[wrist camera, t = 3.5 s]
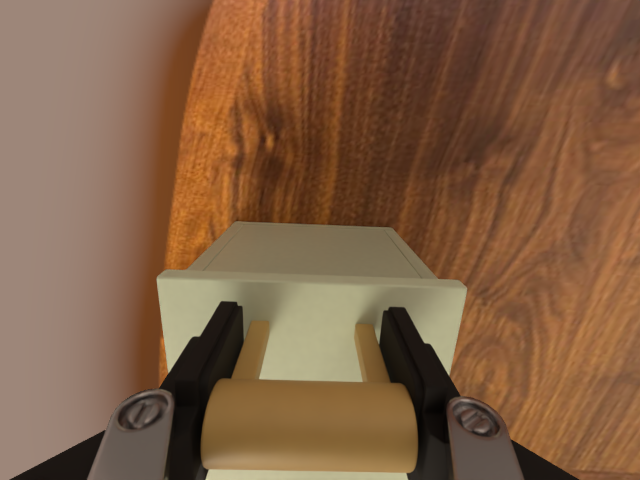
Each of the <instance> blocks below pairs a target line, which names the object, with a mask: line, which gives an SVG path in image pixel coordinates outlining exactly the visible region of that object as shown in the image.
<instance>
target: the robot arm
mask: <svg viewBox="0 0 640 480" xmlns="http://www.w3.org/2000/svg"><path fill="white" fill-rule="evenodd" d="M243 343H244V329H243V307H242V306H238V304H237V302H234V301H221V302H220V303H219V305H218V307H217V308H216V310H215V312H214V313H213V315H212V317H211V319H210V320H209V322H208V324H207V325H206V327H205V329H204V330H203V332H202V334H201V335H200V336H194V337H192V338H191V339H190V340H189V342H188V344H187V345H186V347H185V348H184V350H183V351H182V353H181V355H180V356H179V358H178V359H177V361H176V362H175V364H174V366H173V367H172V369H171V370H170V372H169V373H168V375H167V377H166V378H165V380H164V381H163V383H162V384H161V386H160V388H159V389H148V390H144V391H141V392H139V393H136V394H134V395H132V396H130V397H129V398H127V399H126V400H124V401H123V402H122V403H121V404H120V405H119V406H118V407H117V408H116V409H115V410H114V412H113V414H112V416H111V418H110V420H109V423H108V426H107V428H106V430H104V431H102V432H101V433H99V434H97V435H95V436H93V437H91V438H89V439H87V440H85V441H83V442H81V443H79V444H77V445H75V446H73V447H72V448H70V449H68V450H66V451H64V452H62V453H60V454H58V455H56V456H55V457H52V458H50V459H48V460H47V461H45V462H43V463H41V464H39V465H37V466H35V467H33V468H31V469H29V470H27V471H25V472H23V473H22V474H20V475H18V476H16V477H14V478H12V479H10V480H206V477H207V474H208V470H209V469H206V468H204V467H203V465H202V461H201V434H202V426H203V420H204V415H205V411H206V407H207V403H208V400H209V397H210V394H211V392H212V389H213V387H214V385H215V384H216V382H217V381H218V380H219V379H222V378H228V379H231V377H232V374H233V371H234V368H235V365H236V363H237V360H238V357H239V354H240V351H241V349H242V346H243ZM379 346H380V349H381V353H382V356H383V359H384V362H385V365H386V368H387V372H388V375H389V378H390V381H391V383H401V384H403V385H405V386H406V388H407V389H408V391H409V394H410V396H411V399H412V403H413V406H414V410H415V415H416V421H417V430H418V457H417V463H416V467H415V469H414V470H413V471H412V472H410V473H406V474H407V478H408V480H579V479H577V478H575V477H574V476H572V475H570V474H569V473H567V472H565V471H564V470H562V469H560V468H559V467H557V466H555V465H553V464H552V463H550V462H548V461H547V460H545V459H543V458H542V457H540V456H538V455H537V454H535V453H533V452H532V451H530V450H528V449H526V448H525V447H523V446H521V445H520V444H518V443H516V442H515V441H513V440H511V439H510V436H509V433H508V430H507V427H506V424H505V422H504V421H503V419H502V417H501V416H500V415H499V414H498V413H497V412H496V411H495V410H494V409H493V408H492V407H490V406H489V405H488V404H486V403H484V402H482V401H480V400H478V399H475V398H471V397H465V396H460V394H459V392H458V391H457V389H456V387H455V385H454V384H453V382H452V380H451V378H450V377H449V375H448V373H447V371H446V370H445V368H444V366H443V364H442V363H441V361H440V359H439V357H438V356H437V354H436V352H435V350H434V349H433V347H432V346H431V344H429V343H424V341H423V340H422V338H421V336H420V334H419V332H418V330H417V329H416V327H415V325H414V323H413V321H412V319H411V317H410V316H409V314H408V312H407V310H406V308H405V307H389V308H388V310H384V311H383V316H382V324H381V332H380V341H379Z"/></svg>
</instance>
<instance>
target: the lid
mask: <svg viewBox="0 0 640 480" xmlns="http://www.w3.org/2000/svg"><path fill="white" fill-rule="evenodd" d="M157 286H158V295H159V303H160V311H161V319H162V327H163V335H164V343H165V351H166V359H167V367H168V373H169V372H170V370H171V369H172V367H173V366H174V364H175V362H176V361H177V359H178V358H179V356H180V355H181V353H182V351H183V350H184V348H185V347H186V345H187V344H188V342H189V340H190V339H191V338H192V337H194V336H200V335H201V334H202V332H203V330H204V329H205V327H206V325H207V324H208V322H209V320H210V319H211V317H212V315H213V313H214V312H215V310H216V308H217V307H218V305H219V303H220V302H221V301H234V302H237V304H238V306H242V307H243V329H244V343H243V346H242V349H241V351H240V354H239V357H238V360H237V363H236V365H235V368H234V371H233V374H232V377H231V379H228V378H222V379H219V380H218V381H217V382H216V384H215V385H214V387H213V389H212V392H211V394H210V397H209V400H208V403H207V407H206V411H205V415H204V420H203V426H202V434H201V461H202V465H203V467H204V468H206V469H209V470H208V474H207V477H206V480H408V478H407V474H406V473H410V472H412V471H413V470H414V469H415V467H416V463H417V457H418V430H417V421H416V415H415V410H414V406H413V403H412V399H411V396H410V394H409V391H408V389H407V388H406V386H405V385H403V384H401V383H391V381H390V378H389V375H388V372H387V368H386V365H385V362H384V359H383V356H382V353H381V349H380V346H379V341H380V332H381V324H382V316H383V311H384V310H388V308H389V307H405V308H406V310H407V312H408V314H409V316H410V317H411V319H412V321H413V323H414V325H415V327H416V329H417V330H418V332H419V334H420V336H421V338H422V340H423V341H424V343H429V344H431V346H432V347H433V349H434V350H435V352H436V354H437V356H438V357H439V359H440V361H441V363H442V364H443V366H444V368H445V370H446V371H447V373H448V375H450V370H451V365H452V361H453V356H454V351H455V346H456V341H457V337H458V332H459V327H460V322H461V317H462V313H463V308H464V303H465V298H466V293H467V287H466V286H465V285H464V284H462V283H461V282H460V281H459V280H447V279H419V278H391V277H363V276H335V275H307V274H279V273H251V272H223V271H195V270H165V271H163V272H162V273H161V274H160V275H159V276H157Z"/></svg>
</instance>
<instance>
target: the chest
mask: <svg viewBox="0 0 640 480" xmlns="http://www.w3.org/2000/svg"><path fill="white" fill-rule="evenodd" d="M186 270H195V271H223V272H251V273H279V274H307V275H335V276H363V277H391V278H419V279H438V278H437V277H436V276H435V275H434V274H433V273H432V272H431V271H430V269H429V268H428V267H427V266H426V265H425V264H424V263H423V262H422V261H421V259H420V258H419V257H418V256H417V255H416V254H415V253H414V252H413V251H412V249H411V248H410V247H409V246H408V245H407V244H406V243H405V242H404V241H403V239H402V238H401V237H400V236H399V235H398V234H397V233H396V232H395V231H394V229H393V228H390V227H365V226H340V225H316V224H291V223H266V222H241V221H236V222H234V223H233V224H232V225H231V226H230V227H229V228H228V229H227V230H226V231H225V232H224V233H223V234H222V235H221V236H220V237H219V238H218V239H217V240H216V241H215V242H214V243H213V244H212V245H211V246H210V247H209V248H208V249H207V250H206V251H205V252H204V253H203V254H202V255H201V256H200V257H199V258H198V259H197V260H196V261H195V262H194V263H193V264H192V265H190V266H189V267H188V268H187V269H186Z"/></svg>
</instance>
